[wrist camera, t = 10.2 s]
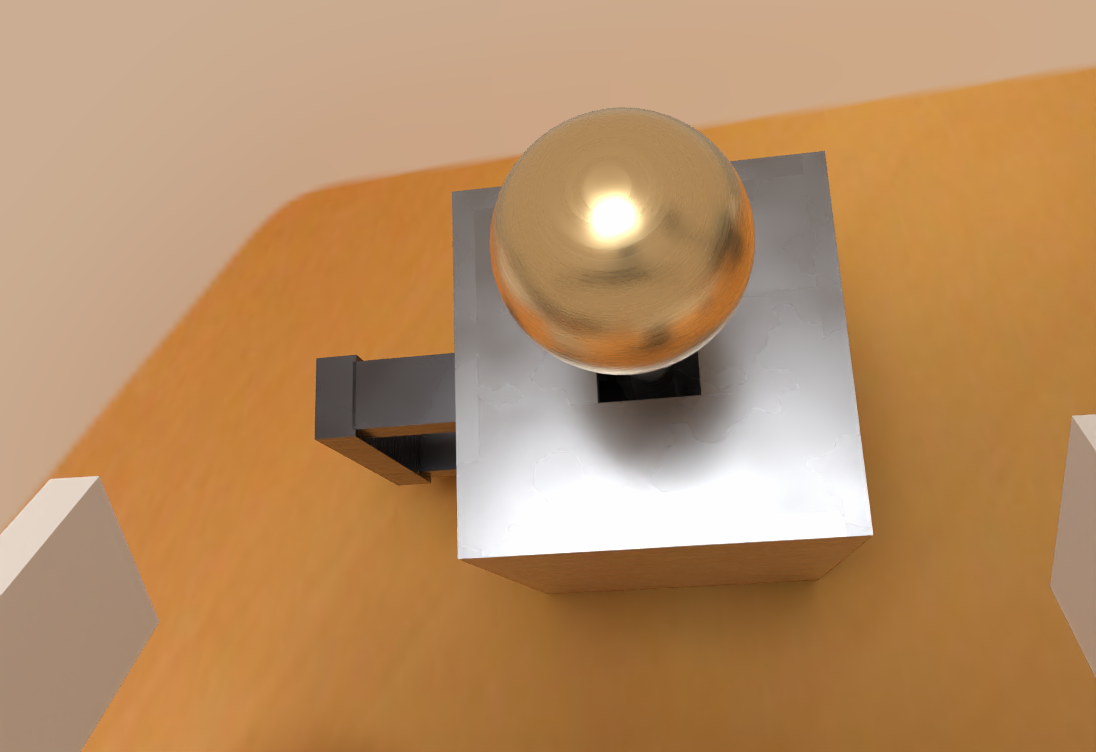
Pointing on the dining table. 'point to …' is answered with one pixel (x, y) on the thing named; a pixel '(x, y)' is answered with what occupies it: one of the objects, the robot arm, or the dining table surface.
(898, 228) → the dining table surface
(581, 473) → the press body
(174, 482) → the dining table surface
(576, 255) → the plunger
